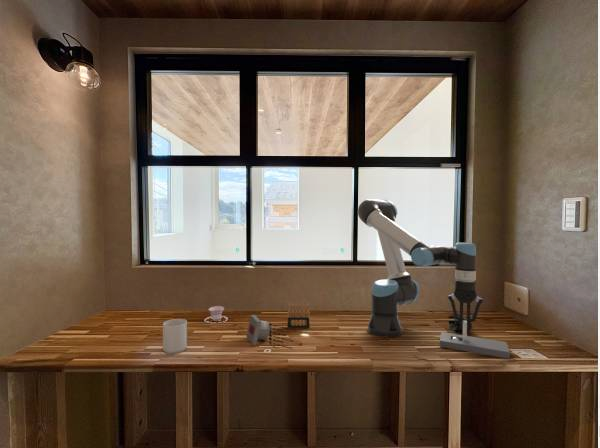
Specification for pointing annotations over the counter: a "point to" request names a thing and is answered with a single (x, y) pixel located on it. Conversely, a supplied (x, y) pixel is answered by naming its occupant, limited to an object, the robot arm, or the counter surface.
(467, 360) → the counter surface
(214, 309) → the teacup
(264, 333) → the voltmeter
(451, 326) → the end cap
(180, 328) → the mug
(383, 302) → the robot arm
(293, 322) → the ammunition clip
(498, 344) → the hole plate
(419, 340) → the counter surface
